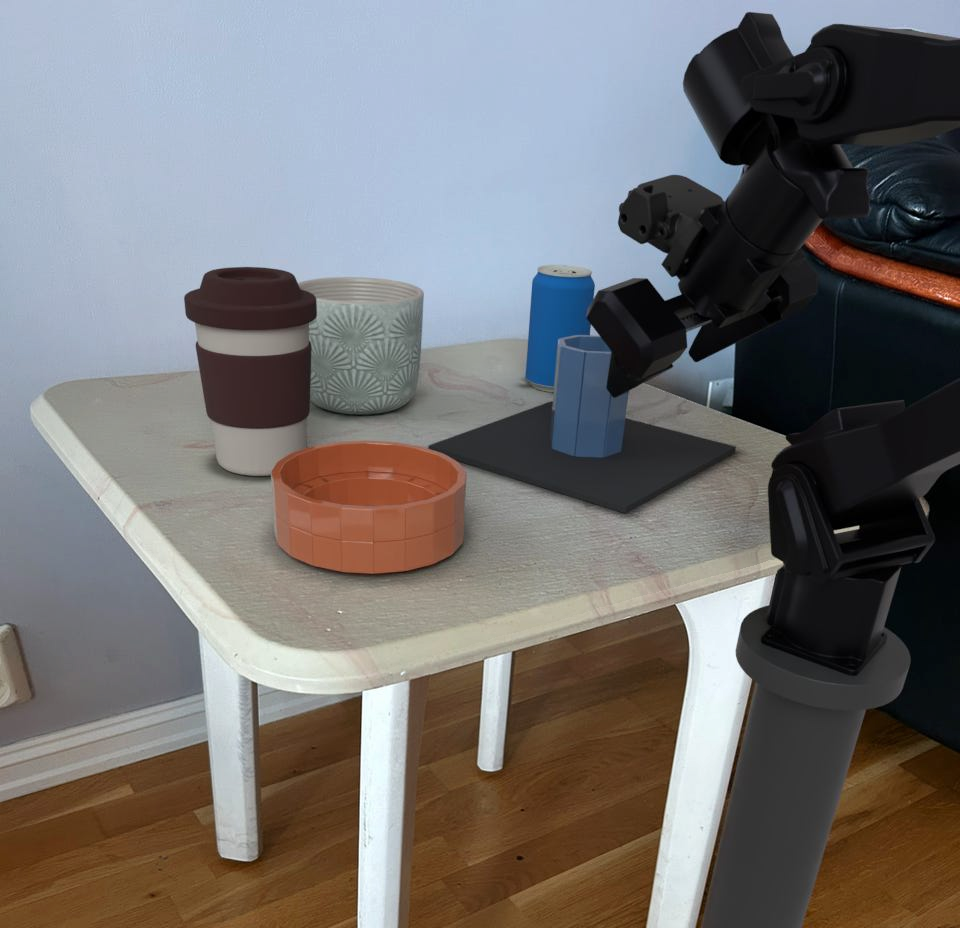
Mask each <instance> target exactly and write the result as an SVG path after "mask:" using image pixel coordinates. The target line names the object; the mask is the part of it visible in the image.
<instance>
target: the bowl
mask: <svg viewBox="0 0 960 928" xmlns="http://www.w3.org/2000/svg"><path fill="white" fill-rule="evenodd" d="M428 448H429V447H424V446H421V445H417V444H416V445H415V444H409V443H403V442H397V441H384V440H383V441H382V440H365V439H364V440H348V441H347V440H346V441H336V442H330V443H323V444H318V445H311V446H309V447H306V449H302V450H299V451H296V452H293V453H291V454H289V455H288V456H286V457H284V458H283V459H281V460H279V461H278V462H277V463H276V465H275V466H274V468H273V470H272V471H271V475H270V481H271V484H270V485H271V497H272V513H273V531H274V536H275V540H276V543H277V545H278V547H279V548H281V549H282V550H283V551H284V552H286V554H288V555H289V557H292V558H294V559H296V560H298V561H301V562H303V563H306V564H308V565H311V566H313V567H317V568H321V569H326V570H331V571H336V572H340V573H341V572H342V573H354V574H371V575H374V574H376V575H377V574H385V573H386V574H387V573H388V574H389V573H398V572H407V571H411V570H415V569H419V568H424V567H428V566H431V565H434V564H436V563H438V562H441V561H442V560H445V559H446V558H449V557H450V556H452V555H453V554H454V553H455V552H456V551H457V550H458V549H459V548H460V547H461V546H462V545H463V543H464V535H465V520H466V519H465V518H466V497H467V496H466V495H467V494H466V493H467V471H466V470H465V468H464V467H463V466H462V465H461V463H460V461H457V460H454V459H452V458H450V457H449V456H447V455H445V454H443V453H440V452H437V451H434V450H431V449H428Z"/></svg>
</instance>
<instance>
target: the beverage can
mask: <svg viewBox="0 0 960 928" xmlns="http://www.w3.org/2000/svg"><path fill="white" fill-rule="evenodd" d="M536 270H537V273H536V274H535V275H534V276H533V278H532V281H531V293H530V309H529V322H528V334H527V335H528V337H527V350H526V361H525V362H526V364H525V376H524V377H525V380H526V381H527V382H529V383H530V384H531V386H532V388H534V389H536V390H539V391H543V392H548V393H554V383H555V371H556V360H557V348H558V339H560V338H565V337H569V336H574V335H591V328H592V325H591V324H590V322H589V321H588V320H587V318H586V316H587V309H588V308H589V306H590V304H591V303H592V301H593V299H594V297H595V289H596V285H595V281H594V279H593V277H592V274H593V271H592V270H591V269H589V268H586V267H583V266H577V265H568V264H567V265H566V264H547V265H541V266H538V267H537V269H536Z"/></svg>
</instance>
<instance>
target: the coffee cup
mask: <svg viewBox="0 0 960 928" xmlns="http://www.w3.org/2000/svg"><path fill="white" fill-rule="evenodd" d="M298 283H299V282H298V280H297V278H296V276H295V275H294V274H293V273H292V272H290V271H287V270H284V269H278V268H270V267H260V266H258V267H257V266H235V267H234V266H232V267H231V266H230V267H222V268H216V269H211V270H209V271H207V272H205V273H204V274H203V275H202V279H201V283H200V285H199V288H196V289H193V290H190V291H188V292H187V293H185V294H184V295H183V296H184V297H183V301H184V311H185V316H186V318H187V319H188V320H189V321H191V322H193V323H194V327H195V332H196V339H197V340H196V342H195V352H196V358H197V364H198V369H199V375H200V382H201V387H202V394H203V400H204V407H205V412H206V415H207V418H209V420H210V426H211V432H212V439H213V444H214V451H215V457H216V461H217V464H219V466H220V467H221V468H223V469H224V470H226V471H228V472H230V473H233V474H236V475H241V476H248V477H249V476H251V477H269V476H270V477H271V471H272V470H273V468H274V466H275V465H276V463H277V462H278V461H279V460H281V459H283V458H284V457H286V456H288V455H289V454H291V453H293V452H296V451H299V450H302V449H306V448H307V432H308V431H307V430H308V429H307V427H308V417H309V415H310V410H311V401H310V384H311V351H312V346H311V342H310V341H309V322H312V321H313V320H315V319H316V317H317V302H316V297H315V296H314V295H313V294H312V293H310V292H308V291H305V290H302V289H300V287H299V285H298Z"/></svg>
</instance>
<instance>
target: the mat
mask: <svg viewBox="0 0 960 928" xmlns="http://www.w3.org/2000/svg"><path fill="white" fill-rule="evenodd" d="M552 406H553V400H551V401H549V402H545V403H542V404H540V405H537V406H534V407H532V408H529V409H526V410H523V411H521V412H518V413H514V414H512V415H510V416H506V417H504V418H501V419H498V420H495V421H493V422H490V423H487V424H484V425H481V426H478V427H476V428H473V429H471V430H468V431H464V432H462V433H459V434H457V435H454V436H451V437H448V438H446V439H442V440H440V441H437V442H434V443H431V444H429V445H428V447H427V448H428V449H431V450H434V451H437V452H440V453H443V454H445V455H447V456H449V457H450V458H452V459H454V460H456V461H457V462H459V463H460V462H461V463H463V464H466V465H469V466H473V467H476V468H479V469H482V470H485V471H489V472H492V473H495V474H499V475H502V476H505V477H508V478H512V479H514V480H517V481H521V482H524V483H527V484H530V485H532V486H533V485H534V486H536V487H540V488H542V489H546V490H548V491H552V492H556V493H559V494H562V495H565V496H568V497H571V498H575V499H578V500H581V501H584V502H588V503H591V504H594V505H597V506H600V507H603V508H607V509H610V510H613V511H616V512H619V513H622V514H627V513H629V512H630V511H632V510H635V509H636V508H638V507H639V506H641V505H643V504H645V503H647V502H649V501H651V500H652V499H654V498H656V497H659V496H660V495H661V494H663V493H665V492H667V491H669V490H670V489H672V488H674V487H676V486H677V485H680V484H681V483H684V482H685V481H686V480H688V479H690V478H692V477H693V476H696V475H697V474H699V473H701V472H703V471H704V470H706V469H708V468H710V467H712V466H713V465H716V463H718V462H719V463H720V461H722V460H724V459H727V458H728V457H730V456H731V455H733V454H736V451H737V450H736V449H737V447H736V446H735V445H733V444H732V445H731V444H729V443H728V444H727V443H724V442H719V441H716V440H713V439H708V438H705V437H700V436H698V435H693V434H689V433H685V432H681V431H678V430H673V429H670V428H665V427H662V426H657V425H653V424H650V423H646V422H642V421H638V420H634V419H631V418H626V417H625V425H624V433H623V441H622V449H621V452H619V453H616V454H613V455H610V456H608V457H605V458H604V457H603V458H593V457H576V456H571V455H568V454H565V453H562V452H559V451H556V450H553V449H552V447H551V443H550V429H551V418H552Z"/></svg>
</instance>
